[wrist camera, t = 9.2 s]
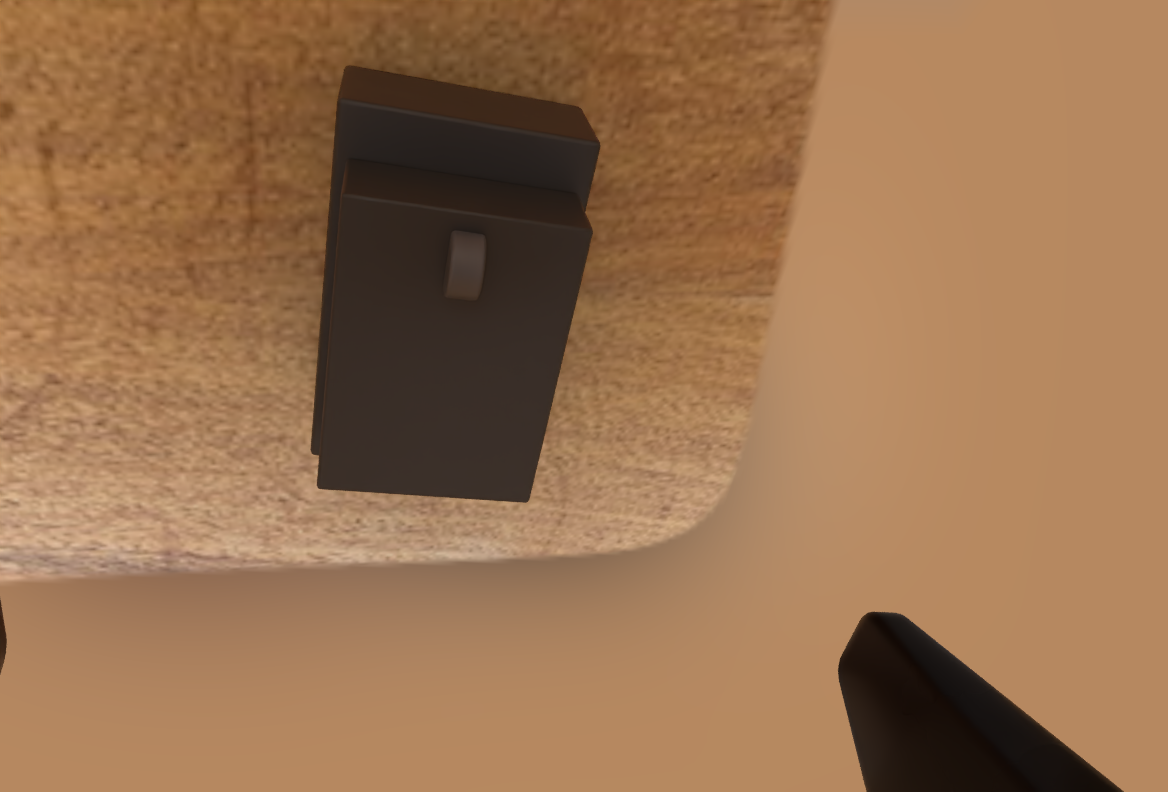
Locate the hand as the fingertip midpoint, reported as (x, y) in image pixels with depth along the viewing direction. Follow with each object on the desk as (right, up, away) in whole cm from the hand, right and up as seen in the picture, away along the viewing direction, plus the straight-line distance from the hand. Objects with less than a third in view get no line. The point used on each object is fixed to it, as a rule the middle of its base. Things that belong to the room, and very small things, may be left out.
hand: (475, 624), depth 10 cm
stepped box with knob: (-1, +5, +7) cm, 9 cm away
